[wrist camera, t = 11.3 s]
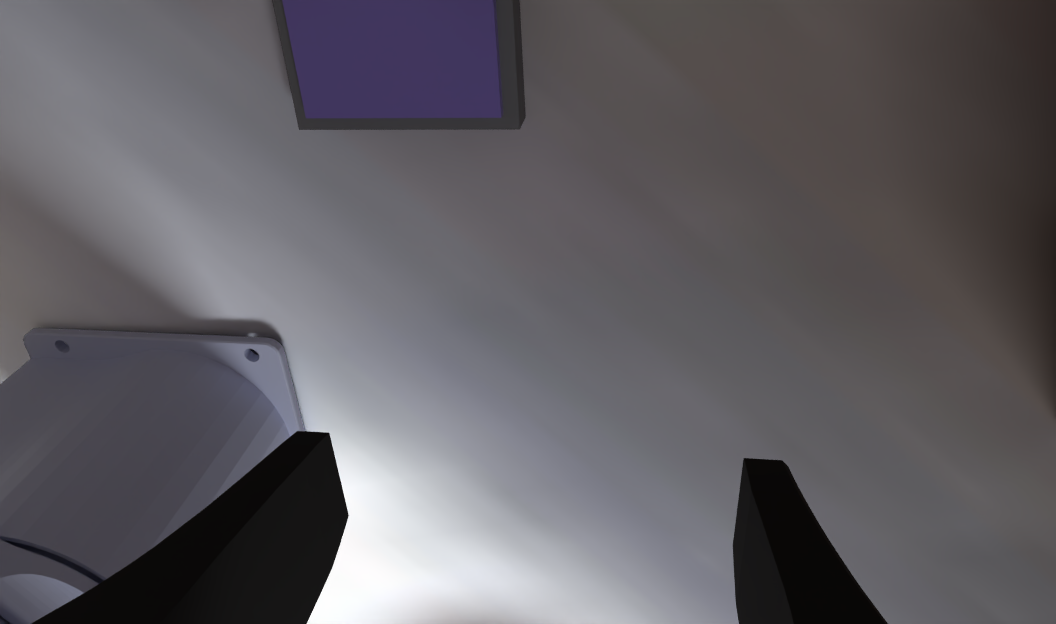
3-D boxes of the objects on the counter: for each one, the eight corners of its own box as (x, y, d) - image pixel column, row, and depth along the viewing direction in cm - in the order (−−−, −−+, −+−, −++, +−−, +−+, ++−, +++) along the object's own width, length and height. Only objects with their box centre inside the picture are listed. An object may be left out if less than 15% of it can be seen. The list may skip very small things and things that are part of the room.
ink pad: (313, 118, 22) (294, 133, 21) (279, -56, 19) (256, -49, 18) (525, 117, 21) (517, 133, 20) (516, -65, 19) (506, -58, 17)
